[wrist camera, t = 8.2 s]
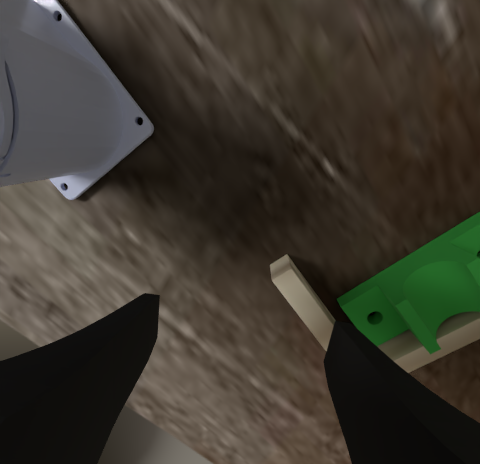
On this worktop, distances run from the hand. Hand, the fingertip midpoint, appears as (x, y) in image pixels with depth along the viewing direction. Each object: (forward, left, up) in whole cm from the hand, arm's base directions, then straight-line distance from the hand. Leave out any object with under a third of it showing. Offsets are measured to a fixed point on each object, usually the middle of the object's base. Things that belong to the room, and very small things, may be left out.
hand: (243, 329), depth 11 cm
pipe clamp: (+7, +9, -8) cm, 13 cm away
